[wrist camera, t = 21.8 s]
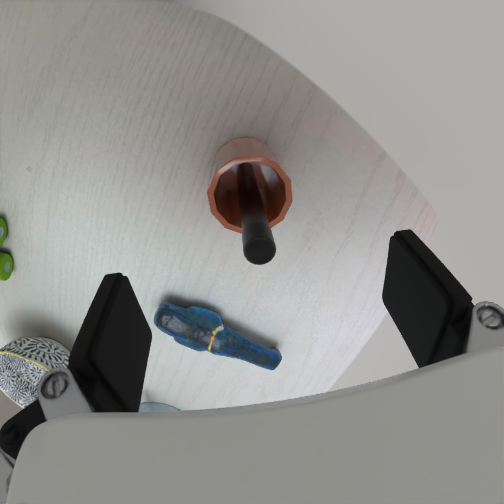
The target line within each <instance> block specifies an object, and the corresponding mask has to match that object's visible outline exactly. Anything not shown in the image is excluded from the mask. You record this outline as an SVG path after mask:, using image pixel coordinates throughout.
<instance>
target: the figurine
mask: <svg viewBox="0 0 504 504" xmlns="http://www.w3.org/2000/svg"><path fill="white" fill-rule="evenodd" d="M154 323H155V325H156V326H157V328H159V329H160V330H161V331H163V332H164V333H166V334H168V335H170V336H173V337H174V340H175V341H176V342H177V343H179V344H181V345H184V346H186V347H189V348H191V349H193V350H196V351H205V350H206V351H209V352H211V353H213V354H215V355H221V356H227V357H232V358H237V359H241V360H244V361H247V362H249V363H252V364H255V365H257V366H260V367H262V368H265V369H269V370H274V369H275V368H276V367H277V366H278V365H279V364H280V362H281V360H282V356H281V353H280V351H279V350H278V349H277V348H276V347H273V348H271V349H270V348H267V347H265V346H263V345H261V344H259V343H257V342H255V341H253V340H251V339H248V338H246V337H245V336H243V335H242V334H240V333H239V332H237V331H236V330H234V329H232V328H230V327H228V326H226V325H224V324H222V323H221V317H220V316H219V315H218V314H217V313H215V312H214V311H211V310H209V309H205V308H201V307H194V306H191V307H189V308H188V309H187V308H183V307H180V306H176V305H174V304H171V303H168V302H163V303H162V304H161V305H160V306H159V308H158V310H157V311H156V314H155V316H154Z"/></svg>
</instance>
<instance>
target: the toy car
mask: <svg viewBox="0 0 504 504" xmlns="http://www.w3.org/2000/svg"><path fill="white" fill-rule="evenodd" d="M6 234H7V226H6V223H5V221H4V220H3V219H1V218H0V245H1V244H2V243H3V242H4V240H5V238H6ZM12 269H13V260H12V258H11V256H10V255H9V254H6V253H1V252H0V280H7V279H8V278H9V277H10V275H11V273H12Z"/></svg>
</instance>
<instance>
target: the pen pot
mask: <svg viewBox="0 0 504 504" xmlns="http://www.w3.org/2000/svg"><path fill="white" fill-rule="evenodd" d="M241 163H249V164H251V165H252V166H253V168H254V172H255V175H256V179H257V182H258V186H259V189H260V193H261V196H262V200H263V204H264V207H265V211H266V214H267V218H268V222H269V225H270V228H272V227H273V226H275V225H276V224H278V223H279V222H280V221H282V220H283V219H284V217H285V215H286V213H287V211H288V209H289V207H290V205H291V203H292V190H291V181H290V179H289V177H288V175H287V174H286V172H285V170H284V169H283V167H282V165H281V164H280V162H279V161H278V159H277V157H276V156H275V155H274V153H273V152H272V151H271V149H270V148H269V147H268V146H267V144H266V143H263V142H262V141H260V140H258V139H255V138H251V137H240V138H236V139H233V140H231V141H229V142H227V143H226V144H224V145H223V146H222V147H221V148H220V149H219V150H218V152H217V155H216V157H215V160H214V162H213V165H212V170H211V175H210V180H209V186H208V191H207V194H208V200H209V205H210V210H211V213H212V214H213V215H214V216H215V218H216V219H217V220H218V221H219V222H220V223H221V224H222V225H223V226H224V227H225V228H227V229H230V230H233V231H236V232H239V233H242V225H241V214H240V203H239V192H238V181H237V167H238V166H239V165H240V164H241Z"/></svg>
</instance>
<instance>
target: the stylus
mask: <svg viewBox="0 0 504 504" xmlns="http://www.w3.org/2000/svg"><path fill="white" fill-rule="evenodd" d="M237 181H238V192H239V203H240V214H241V225H242V240H243V251H244V256H245V258H246V259H247V260H248V261H249V262H251V263H253V264H257V265H262V264H266V263H268V262H269V261H271V260H272V259H273V257H274V256H275V253H276V246H275V242H274V238H273V235H272V231H271V229H270V225H269V222H268V218H267V214H266V211H265V207H264V204H263V200H262V196H261V193H260V189H259V186H258V182H257V179H256V175H255V172H254V168H253V166H252V165H251V164H249V163H241V164H240V165H239V166H238V167H237Z"/></svg>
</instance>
